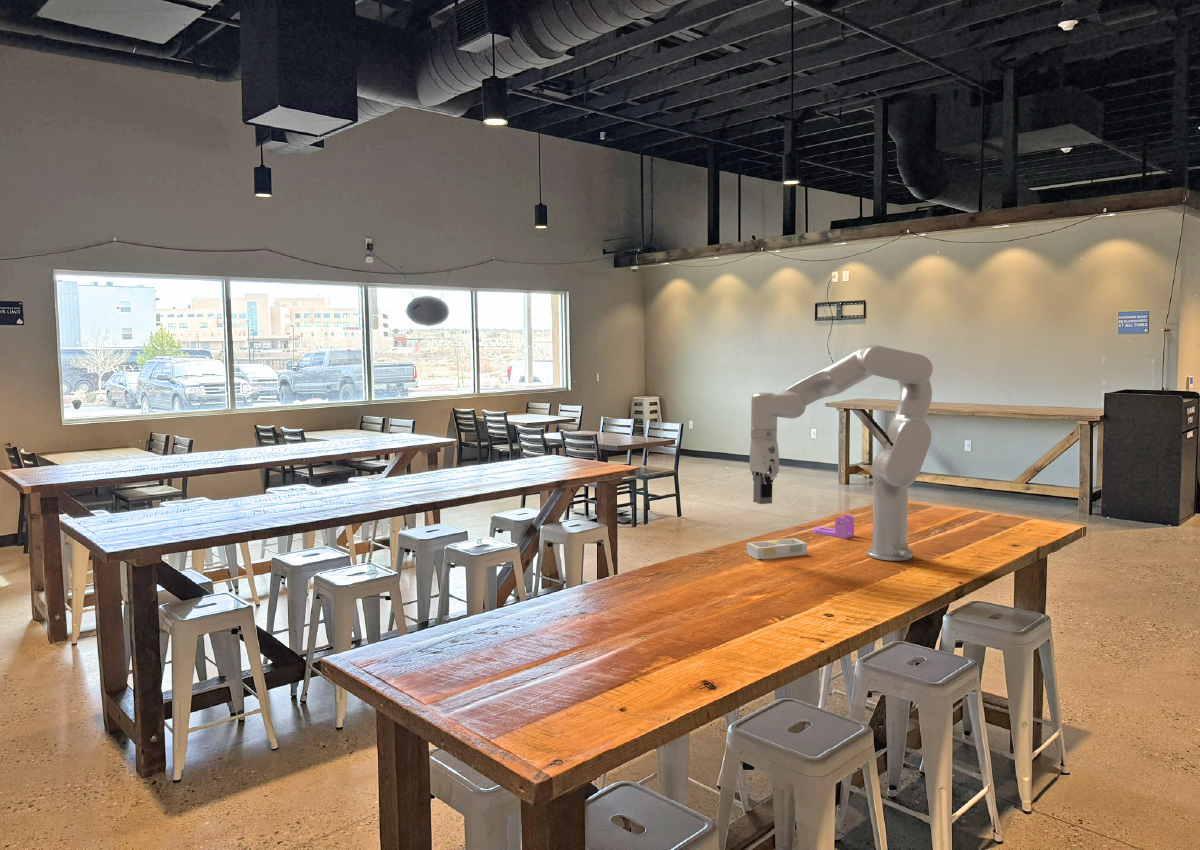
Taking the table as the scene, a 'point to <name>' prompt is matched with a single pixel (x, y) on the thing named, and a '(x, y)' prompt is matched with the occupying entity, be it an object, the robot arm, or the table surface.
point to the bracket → (838, 528)
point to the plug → (759, 491)
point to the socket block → (777, 548)
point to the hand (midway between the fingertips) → (762, 495)
